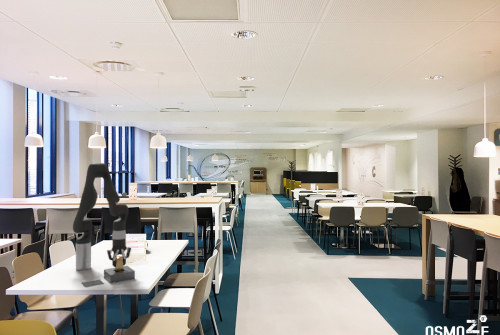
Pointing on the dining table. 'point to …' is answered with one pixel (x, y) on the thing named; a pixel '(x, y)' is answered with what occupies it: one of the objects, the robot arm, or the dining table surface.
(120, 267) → the brass cylinder
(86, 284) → the mat
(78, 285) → the dining table surface
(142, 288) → the dining table surface
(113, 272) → the housing
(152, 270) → the dining table surface
